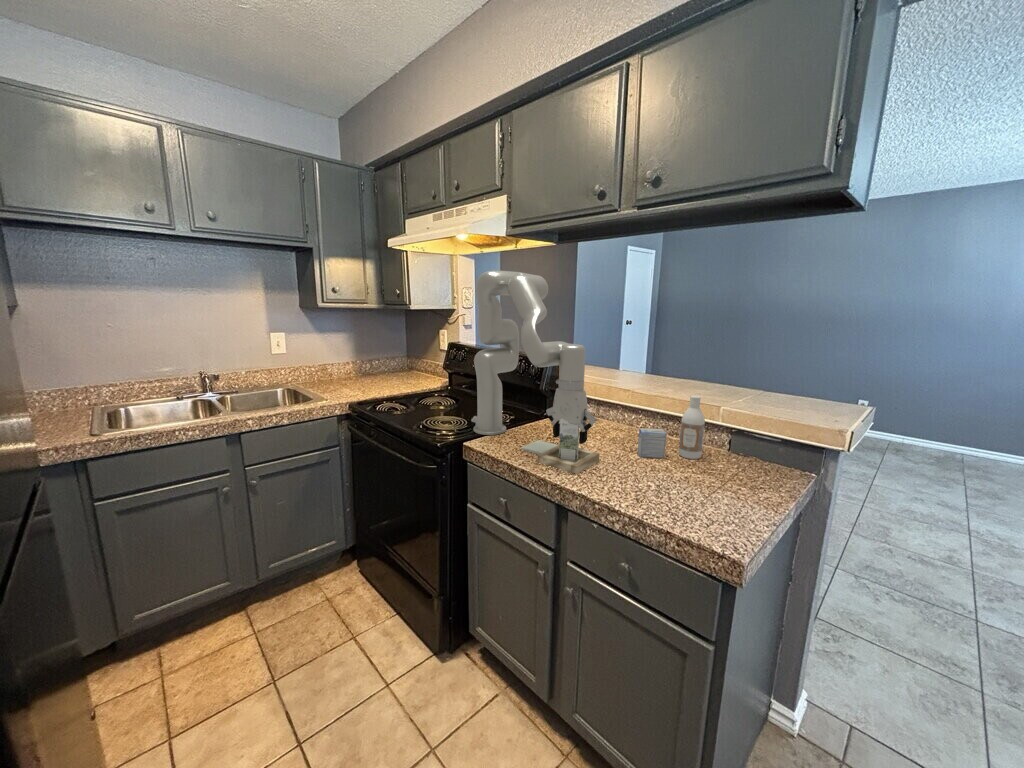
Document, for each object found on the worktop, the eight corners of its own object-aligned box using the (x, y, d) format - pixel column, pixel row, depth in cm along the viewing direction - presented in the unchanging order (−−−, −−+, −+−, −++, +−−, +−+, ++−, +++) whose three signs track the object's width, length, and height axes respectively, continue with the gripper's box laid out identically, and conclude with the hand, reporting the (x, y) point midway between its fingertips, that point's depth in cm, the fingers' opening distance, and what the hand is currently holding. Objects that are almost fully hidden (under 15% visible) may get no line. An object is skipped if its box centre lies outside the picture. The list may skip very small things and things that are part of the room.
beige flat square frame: (537, 462, 130) (537, 455, 130) (561, 450, 141) (561, 443, 141) (576, 474, 122) (577, 466, 121) (599, 460, 133) (599, 453, 132)
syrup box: (578, 459, 134) (580, 415, 131) (576, 466, 128) (578, 420, 125) (560, 457, 135) (561, 414, 132) (558, 464, 129) (559, 419, 126)
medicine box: (661, 453, 139) (663, 428, 138) (664, 458, 135) (667, 432, 133) (637, 452, 140) (638, 427, 138) (639, 457, 136) (641, 432, 134)
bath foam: (675, 456, 137) (681, 396, 133) (681, 450, 142) (686, 393, 138) (698, 461, 133) (704, 400, 129) (703, 455, 138) (709, 396, 134)
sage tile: (520, 449, 142) (521, 447, 142) (537, 442, 149) (538, 439, 149) (545, 456, 136) (545, 454, 136) (561, 448, 143) (562, 446, 143)
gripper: (540, 383, 129) (539, 437, 132) (591, 391, 118) (588, 449, 122) (553, 379, 135) (552, 431, 138) (603, 387, 124) (600, 442, 128)
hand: (569, 439), depth 130 cm, fingers open, 8 cm apart
